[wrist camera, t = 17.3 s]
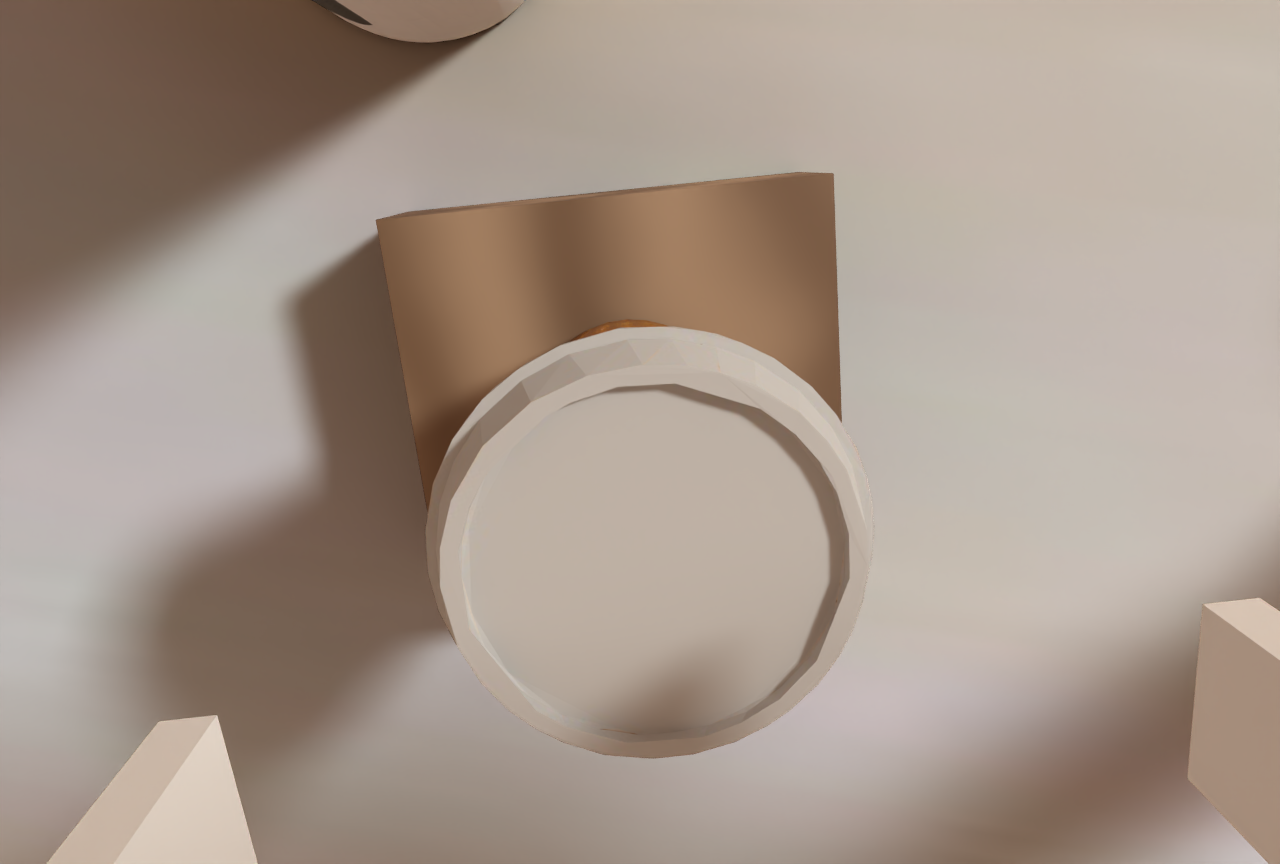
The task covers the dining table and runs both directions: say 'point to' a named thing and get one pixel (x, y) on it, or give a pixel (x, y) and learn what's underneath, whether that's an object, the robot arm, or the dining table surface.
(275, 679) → the dining table surface
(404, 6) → the speaker
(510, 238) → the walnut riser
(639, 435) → the disposable coffee cup
